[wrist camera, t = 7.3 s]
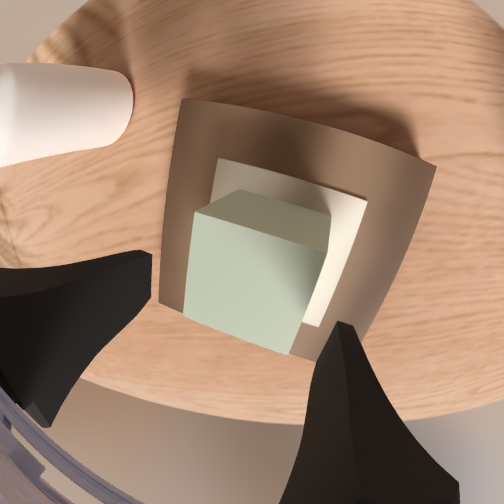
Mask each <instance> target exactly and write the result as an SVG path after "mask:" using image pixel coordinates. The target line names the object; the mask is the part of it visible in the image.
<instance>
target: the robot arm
mask: <svg viewBox="0 0 504 504" xmlns="http://www.w3.org/2000/svg"><path fill="white" fill-rule="evenodd" d="M151 275H152V254H150V253H147V252H145V251H142V250H133V251H128V252H123V253H118V254H113V255H109V256H105V257H100V258H96V259H92V260H87V261H82V262H77V263H72V264H67V265H60V266H53V267H44V268H23V269H12V268H0V504H74V503H72V502H71V501H70V500H68V499H67V498H66V497H64V496H63V495H62V494H61V493H59V492H58V491H57V490H56V489H54V488H53V487H52V486H51V485H50V484H48V483H47V482H46V481H45V480H44V479H43V478H42V477H40V475H41V474H42V473H43V472H44V471H45V467H44V466H43V465H42V464H41V463H40V462H39V461H38V460H37V459H36V458H35V457H34V456H33V455H32V454H31V453H30V452H29V451H28V450H27V449H26V448H25V447H24V446H23V445H22V444H21V443H20V442H19V441H18V440H17V439H16V438H15V437H14V436H13V434H12V433H11V428H12V427H11V424H12V425H13V427H14V428H15V429H16V430H17V431H18V432H19V433H20V434H21V435H22V436H23V437H24V438H25V439H26V440H27V441H28V442H29V443H30V444H31V445H32V446H33V447H34V448H35V449H36V450H37V451H38V452H39V453H40V454H41V455H42V456H43V457H44V458H46V459H47V460H48V461H49V462H50V463H51V464H52V465H53V466H55V467H56V468H57V469H58V470H59V471H60V472H62V473H63V474H64V475H65V476H67V477H68V478H69V479H70V480H72V481H73V482H74V483H76V484H77V485H78V486H80V487H81V488H82V489H84V490H85V491H86V492H88V493H89V494H91V495H92V496H94V497H95V498H97V499H98V500H100V501H101V502H102V503H104V504H144V503H142V502H140V501H139V500H137V499H135V498H133V497H131V496H130V495H128V494H126V493H125V492H123V491H121V490H120V489H118V488H116V487H115V486H113V485H111V484H110V483H108V482H107V481H105V480H104V479H102V478H101V477H99V476H98V475H96V474H95V473H93V472H92V471H91V470H89V469H88V468H86V467H85V466H83V465H82V464H81V463H80V462H78V461H77V460H76V459H74V458H73V457H72V456H71V455H69V454H68V453H67V452H66V451H64V450H63V449H62V448H61V447H60V446H58V445H57V444H56V443H55V442H54V441H53V440H52V439H50V438H49V437H48V436H47V435H46V434H45V433H44V432H43V431H42V430H41V429H40V428H38V427H37V426H36V425H35V424H34V423H33V422H32V421H31V420H30V419H29V418H28V417H27V416H26V415H25V414H24V413H23V412H22V411H21V409H20V408H18V406H17V405H16V403H17V404H18V405H19V406H20V407H21V408H22V409H23V410H25V411H26V412H27V413H28V414H29V415H30V416H31V417H32V418H33V419H34V420H35V421H36V422H37V423H38V424H39V425H40V426H41V427H44V428H49V427H51V425H52V423H53V421H54V419H55V417H56V415H57V413H58V411H59V409H60V407H61V405H62V403H63V402H64V400H65V399H66V397H67V395H68V394H69V392H70V390H71V388H72V387H73V386H74V384H75V383H76V381H77V380H78V378H79V377H80V376H81V374H82V373H83V371H84V370H85V369H86V368H87V366H88V365H89V364H90V362H91V361H92V360H93V359H94V357H95V356H96V355H97V354H98V353H99V352H100V351H101V349H102V348H103V347H104V346H105V345H107V344H108V343H109V342H110V341H111V340H112V339H113V338H114V337H115V336H116V335H117V334H118V333H119V332H120V331H121V330H122V329H123V328H124V327H125V326H126V325H127V324H128V323H129V322H130V321H131V320H133V319H134V318H135V317H136V316H137V314H138V313H139V312H140V311H141V310H142V308H143V307H144V306H145V304H146V303H147V302H148V300H149V299H150V298H151ZM279 504H460V493H459V483H458V481H457V480H455V479H454V478H453V477H452V476H451V475H450V474H449V473H448V472H447V471H445V470H444V469H443V468H442V467H441V466H440V465H439V464H438V463H437V462H436V461H435V460H434V459H433V458H432V457H431V456H430V455H429V454H428V453H427V451H426V450H425V449H424V448H423V447H422V446H421V445H420V443H419V442H418V441H417V440H416V439H415V437H414V436H413V435H412V434H411V432H410V431H409V430H408V428H407V427H406V426H405V424H404V423H403V421H402V420H401V419H400V417H399V416H398V414H397V412H396V411H395V409H394V408H393V406H392V405H391V403H390V401H389V400H388V398H387V396H386V395H385V393H384V391H383V389H382V387H381V385H380V383H379V381H378V380H377V378H376V376H375V373H374V371H373V369H372V367H371V365H370V363H369V361H368V359H367V356H366V354H365V352H364V349H363V347H362V345H361V342H360V340H359V338H358V335H357V333H356V331H355V328H354V326H353V325H350V324H347V323H344V322H341V321H337V322H336V324H335V326H334V328H333V330H332V332H331V334H330V336H329V338H328V340H327V342H326V344H325V346H324V348H323V350H322V352H321V354H320V355H319V357H318V359H317V362H316V365H315V369H314V373H313V377H312V381H311V385H310V391H309V398H308V405H307V411H306V417H305V423H304V429H303V435H302V439H301V444H300V448H299V451H298V454H297V457H296V460H295V463H294V466H293V469H292V472H291V475H290V477H289V480H288V483H287V485H286V488H285V491H284V493H283V495H282V498H281V500H280V503H279Z"/></svg>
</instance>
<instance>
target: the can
mask: <svg viewBox="0 0 504 504" xmlns="http://www.w3.org/2000/svg"><path fill="white" fill-rule="evenodd" d="M133 104H134V98H133V92H132V88H131V85H130V83H129V81H128V79H127V78H126V77H125V76H124V75H123V74H121V73H120V72H117V71H112V70H107V69H100V68H93V67H85V66H76V65H65V64H51V63H7V64H3V65H1V66H0V167H4V166H8V165H12V164H16V163H20V162H24V161H29V160H33V159H37V158H42V157H47V156H52V155H57V154H62V153H67V152H73V151H79V150H85V149H91V148H97V147H103V146H108V145H110V144H112V143H113V142H115V141H116V140H117V139H118V138H119V137H120V136H121V135H122V133H123V132H124V131H125V129H126V127H127V125H128V123H129V121H130V119H131V116H132V112H133Z"/></svg>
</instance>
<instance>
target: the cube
mask: <svg viewBox="0 0 504 504" xmlns="http://www.w3.org/2000/svg"><path fill="white" fill-rule="evenodd" d="M331 218H332V216H329V215H326V214H323V213H320V212H317V211H314V210H310V209H307V208H304V207H301V206H297V205H294V204H291V203H287V202H284V201H281V200H277V199H274V198H270V197H267V196H263V195H260V194H256V193H253V192H249V191H245V190H242V189H238V190H236V191H234V192H232V193H230V194H228V195H226V196H224V197H222V198H220V199H218V200H216V201H214V202H212V203H210V204H208V205H207V206H205V207H203V208H201V209H199V210H197V211H195V213H194V220H193V228H192V235H191V243H190V251H189V260H188V269H187V278H186V288H185V298H184V309H183V316H184V317H187V318H189V319H191V320H194V321H196V322H199V323H201V324H203V325H206V326H208V327H211V328H213V329H216V330H218V331H221V332H224V333H226V334H229V335H231V336H234V337H237V338H239V339H242V340H245V341H248V342H250V343H253V344H256V345H259V346H262V347H264V348H267V349H270V350H273V351H276V352H279V353H282V354H285V355H288V354H289V351H290V349H291V347H292V344H293V342H294V340H295V337H296V335H297V332H298V330H299V327H300V325H301V322H302V320H303V317H304V315H305V312H306V310H307V307H308V305H309V302H310V299H311V297H312V294H313V292H314V289H315V286H316V284H317V281H318V278H319V275H320V273H321V270H322V267H323V264H324V261H325V259H326V256H327V252H328V244H329V236H330V228H331Z"/></svg>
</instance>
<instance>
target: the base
mask: <svg viewBox="0 0 504 504" xmlns="http://www.w3.org/2000/svg"><path fill="white" fill-rule="evenodd" d="M436 167H437V166H435V165H433V164H430V163H428V162H426V161H424V160H421V159H419V158H417V157H414V156H412V155H410V154H407V153H405V152H402V151H400V150H397V149H395V148H392V147H389V146H387V145H384V144H381V143H379V142H376V141H373V140H370V139H367V138H364V137H361V136H358V135H355V134H352V133H349V132H346V131H343V130H339V129H336V128H333V127H329V126H326V125H322V124H319V123H315V122H311V121H307V120H304V119H300V118H296V117H291V116H287V115H283V114H278V113H274V112H269V111H264V110H259V109H254V108H248V107H243V106H237V105H231V104H224V103H218V102H210V101H202V100H194V99H184V98H182V101H181V106H180V111H179V116H178V122H177V127H176V133H175V139H174V145H173V151H172V158H171V165H170V172H169V179H168V187H167V195H166V204H165V213H164V223H163V235H162V247H161V261H160V279H159V303H161V304H163V305H165V306H168V307H170V308H172V309H174V310H177V311H179V312H181V313H183V309H184V298H185V288H186V278H187V269H188V260H189V251H190V243H191V235H192V228H193V220H194V213H195V211H197V210H199V209H201V208H203V207H205V206H207V205H208V204H210V203H212V202H214V201H216V200H218V199H220V198H222V197H224V196H226V195H228V194H230V193H232V192H234V191H236V190H238V189H242V190H245V191H249V192H253V193H256V194H260V195H263V196H267V197H270V198H274V199H277V200H281V201H284V202H287V203H291V204H294V205H297V206H301V207H304V208H307V209H310V210H314V211H317V212H320V213H323V214H326V215H329V216H332V218H331V228H330V236H329V244H328V252H327V256H326V259H325V261H324V264H323V267H322V270H321V273H320V275H319V278H318V281H317V284H316V286H315V289H314V292H313V294H312V297H311V299H310V302H309V305H308V307H307V310H306V312H305V315H304V317H303V320H302V322H301V325H300V327H299V330H298V332H297V335H296V337H295V340H294V342H293V344H292V347H291V349H290V351H289V354H292V355H295V356H298V357H301V358H305V359H308V360H311V361H314V362H317V359H318V357H319V355H320V354H321V352H322V350H323V348H324V346H325V344H326V342H327V340H328V338H329V336H330V334H331V332H332V330H333V328H334V326H335V324H336V322H337V321H341V322H344V323H347V324H350V325H353V326H354V328H355V331H356V333H357V335H358V338H359V340H360V342H361V341H362V340H363V338H364V336H365V334H366V332H367V331H368V329H369V327H370V325H371V323H372V322H373V320H374V318H375V316H376V314H377V312H378V310H379V308H380V306H381V305H382V303H383V301H384V299H385V297H386V295H387V293H388V291H389V288H390V286H391V284H392V282H393V280H394V278H395V276H396V274H397V272H398V269H399V267H400V265H401V263H402V260H403V258H404V256H405V253H406V251H407V249H408V246H409V244H410V241H411V239H412V237H413V234H414V231H415V229H416V226H417V224H418V221H419V218H420V216H421V213H422V210H423V207H424V205H425V202H426V199H427V196H428V193H429V190H430V187H431V184H432V180H433V177H434V174H435V171H436Z"/></svg>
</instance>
